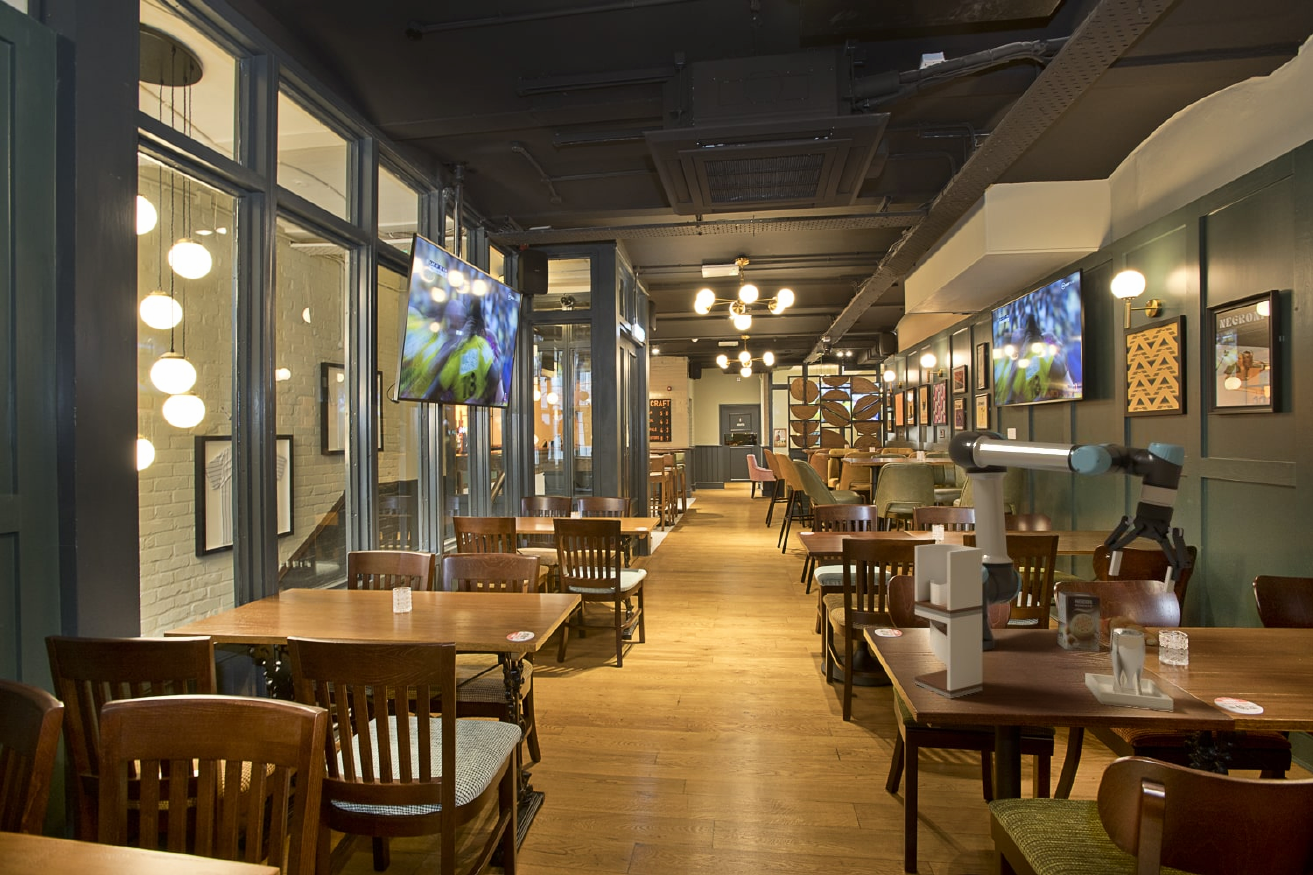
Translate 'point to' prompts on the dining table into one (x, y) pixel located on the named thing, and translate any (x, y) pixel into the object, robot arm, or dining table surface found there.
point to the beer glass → (1127, 660)
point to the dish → (1149, 699)
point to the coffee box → (1078, 621)
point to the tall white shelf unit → (951, 615)
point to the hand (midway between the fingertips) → (1139, 583)
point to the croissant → (1125, 623)
